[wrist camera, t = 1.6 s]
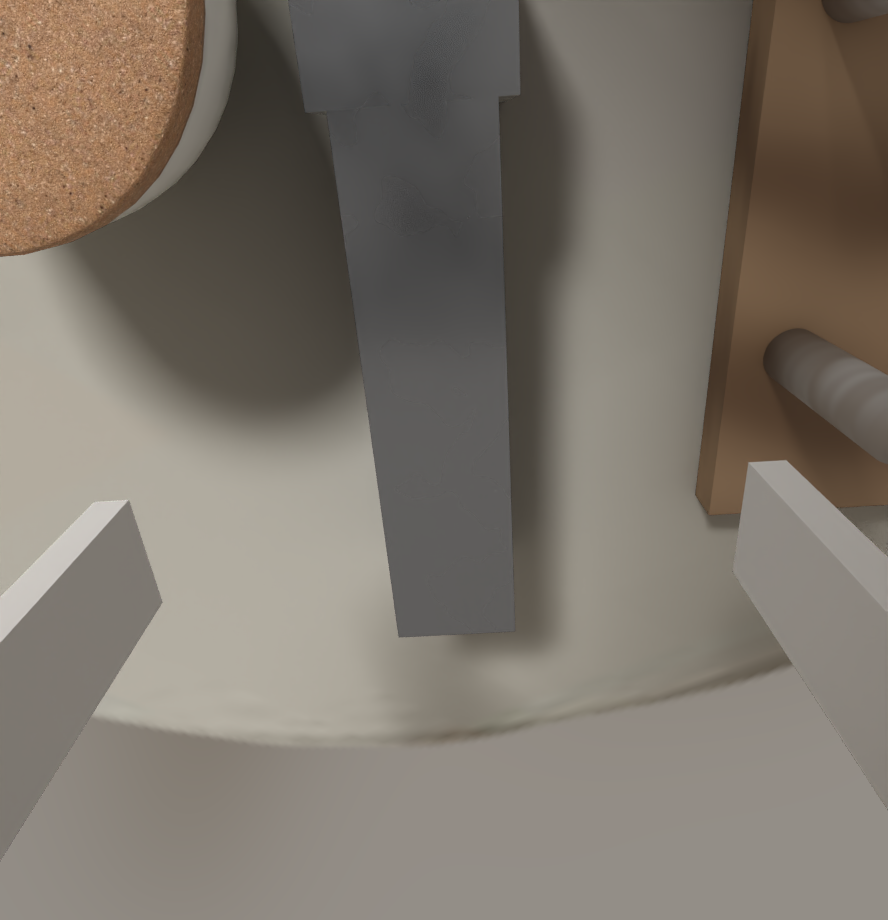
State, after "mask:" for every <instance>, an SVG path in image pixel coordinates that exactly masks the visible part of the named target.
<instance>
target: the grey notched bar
mask: <svg viewBox="0 0 888 920" xmlns="http://www.w3.org/2000/svg"><path fill="white" fill-rule="evenodd" d="M288 3H289V10H290V16H291V23H292V30H293V36H294V43H295V50H296V56H297V63H298V69H299V76H300V83H301V89H302V96H303V103H304V109H305V113H313V114H323V115H327V120H328V127H329V134H330V141H331V149H332V156H333V163H334V170H335V178H336V185H337V192H338V200H339V207H340V214H341V221H342V229H343V236H344V243H345V250H346V258H347V265H348V272H349V280H350V287H351V294H352V301H353V309H354V316H355V323H356V330H357V338H358V345H359V352H360V359H361V367H362V374H363V381H364V389H365V396H366V403H367V410H368V418H369V425H370V432H371V439H372V447H373V454H374V461H375V469H376V476H377V483H378V490H379V498H380V505H381V512H382V519H383V527H384V534H385V541H386V548H387V556H388V563H389V570H390V578H391V585H392V592H393V599H394V607H395V614H396V621H397V628H398V636H399V637H417V636H436V635H455V634H475V633H494V632H514V631H515V607H514V575H513V543H512V511H511V479H510V446H509V414H508V382H507V350H506V318H505V285H504V253H503V221H502V189H501V157H500V125H499V102H505V101H507V100H510V99H512V98H514V97H516V96H518V95H520V43H519V0H288Z"/></svg>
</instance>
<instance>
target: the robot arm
mask: <svg viewBox="0 0 888 920" xmlns="http://www.w3.org/2000/svg"><path fill="white" fill-rule="evenodd" d="M732 572H733V573H734V575H735V576H736V578H737V580H738V581H739V583H740V584H741V586H742V587H743V589H744V590H745V592H746V593H747V595H748V596H749V598H750V599H751V601H752V603H753V604H754V606H755V607H756V609H757V610H758V612H759V613H760V615H761V616H762V618H763V619H764V621H765V622H766V624H767V626H768V627H769V629H770V630H771V632H772V633H773V635H774V636H775V638H776V639H777V641H778V642H779V644H780V645H781V647H782V649H783V650H784V652H785V653H786V655H787V656H788V658H789V659H790V661H791V662H792V664H793V665H794V667H795V669H796V670H797V672H798V673H799V675H800V676H801V678H802V679H803V681H804V682H805V684H806V685H807V687H808V688H809V690H810V691H811V693H812V695H813V696H814V698H815V699H816V701H817V702H818V704H819V705H820V707H821V708H822V710H823V711H824V713H825V715H826V716H827V718H828V719H829V721H830V722H831V724H832V725H833V727H834V728H835V730H836V731H837V733H838V734H839V736H840V737H841V739H842V741H843V742H844V744H845V745H846V747H847V748H848V750H849V751H850V753H851V754H852V756H853V757H854V759H855V761H856V762H857V764H858V765H859V767H860V768H861V770H862V771H863V773H864V774H865V776H866V777H867V779H868V780H869V782H870V784H871V785H872V787H873V788H874V790H875V791H876V793H877V794H878V796H879V797H880V799H881V800H882V802H883V803H884V805H885V807H886V808H887V810H888V557H887V556H886V555H885V554H884V553H883V552H882V551H881V550H880V549H879V548H878V547H877V546H876V545H875V544H874V543H873V542H871V541H870V540H869V539H868V538H867V537H866V536H865V535H864V534H863V533H862V532H861V531H860V530H859V529H858V528H857V527H856V526H855V525H854V524H853V523H852V522H851V521H849V520H848V519H847V518H846V517H845V516H844V515H843V514H842V513H841V512H840V511H839V510H838V509H837V508H836V507H835V506H834V505H833V504H832V503H831V502H830V501H829V500H827V499H826V498H825V497H824V496H823V495H822V494H821V493H820V492H819V491H818V490H817V489H816V488H815V487H814V486H813V485H812V484H811V483H810V482H809V481H808V480H807V479H805V478H804V477H803V476H802V475H801V474H800V473H799V472H798V471H797V470H796V469H795V468H794V467H793V466H792V465H791V464H790V463H789V462H788V461H787V460H780V461H763V462H748V469H747V476H746V483H745V489H744V496H743V503H742V510H741V517H740V524H739V530H738V537H737V544H736V551H735V558H734V564H733V571H732ZM161 604H162V599H161V596H160V593H159V590H158V587H157V584H156V581H155V578H154V575H153V572H152V569H151V566H150V563H149V560H148V557H147V554H146V550H145V547H144V544H143V541H142V538H141V535H140V532H139V529H138V526H137V523H136V520H135V517H134V514H133V511H132V508H131V505H130V502H129V500H118V501H102V502H94V503H93V504H92V505H91V506H90V507H89V508H88V509H87V510H86V511H85V512H84V513H83V514H82V515H81V516H80V517H79V518H78V519H77V520H76V521H75V522H74V523H73V524H72V525H71V526H70V527H69V528H68V529H67V530H66V531H65V532H64V533H63V534H62V535H61V536H60V537H59V538H58V539H57V540H56V541H55V542H54V543H53V544H52V545H51V546H50V547H49V548H48V549H47V550H46V551H45V552H44V553H43V554H42V555H41V556H40V557H39V558H38V559H37V560H36V561H35V562H34V563H33V564H32V565H31V566H30V567H29V568H28V569H27V570H26V571H25V572H24V573H23V574H22V575H21V576H20V577H19V578H18V579H17V580H16V581H15V582H14V583H13V584H12V585H11V586H10V587H9V589H8V590H7V591H6V592H5V593H4V594H3V595H2V596H1V597H0V861H1V859H2V858H3V856H4V854H5V853H6V851H7V850H8V848H9V846H10V845H11V843H12V842H13V840H14V839H15V837H16V835H17V834H18V832H19V831H20V829H21V827H22V826H23V824H24V822H25V821H26V819H27V818H28V816H29V814H30V813H31V811H32V810H33V808H34V807H35V805H36V803H37V802H38V800H39V798H40V797H41V795H42V794H43V792H44V791H45V789H46V787H47V786H48V784H49V782H50V781H51V779H52V778H53V776H54V775H55V773H56V771H57V770H58V768H59V766H60V765H61V764H62V762H63V760H64V759H65V757H66V756H67V754H68V752H69V751H70V749H71V748H72V746H73V744H74V743H75V741H76V740H77V738H78V736H79V735H80V733H81V732H82V730H83V728H84V727H85V725H86V724H87V722H88V720H89V719H90V717H91V716H92V714H93V712H94V711H95V709H96V708H97V706H98V704H99V703H100V701H101V700H102V698H103V696H104V695H105V693H106V692H107V690H108V689H109V687H110V685H111V684H112V682H113V681H114V679H115V677H116V676H117V674H118V673H119V671H120V669H121V668H122V666H123V665H124V663H125V661H126V660H127V658H128V657H129V655H130V653H131V652H132V650H133V649H134V647H135V645H136V644H137V642H138V641H139V639H140V637H141V636H142V634H143V633H144V631H145V629H146V628H147V626H148V625H149V623H150V621H151V620H152V618H153V617H154V615H155V614H156V612H157V610H158V609H159V607H160V606H161Z"/></svg>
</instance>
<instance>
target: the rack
mask: <svg viewBox="0 0 888 920" xmlns="http://www.w3.org/2000/svg"><path fill="white" fill-rule="evenodd" d="M780 460H787V461H788V462H789V463H790V464H791V465H792V466H793V467H794V468H795V469H796V470H797V471H798V472H799V473H800V474H801V475H802V476H803V477H804V478H805V479H807V480H808V481H809V482H810V483H811V484H812V485H813V486H814V487H815V488H816V489H817V490H818V491H819V492H820V493H821V494H822V495H823V496H824V497H825V498H826V499H827V500H829V501H830V502H831V503H832V504H833V505H834V506H835V507H836V508H841V507H859V506H876V505H888V0H753V7H752V16H751V24H750V33H749V41H748V50H747V58H746V67H745V75H744V84H743V92H742V101H741V110H740V118H739V127H738V135H737V144H736V152H735V161H734V169H733V178H732V186H731V195H730V203H729V212H728V220H727V229H726V238H725V246H724V255H723V263H722V272H721V280H720V289H719V297H718V306H717V314H716V323H715V331H714V340H713V348H712V357H711V366H710V374H709V383H708V391H707V400H706V408H705V417H704V425H703V434H702V442H701V451H700V459H699V468H698V476H697V485H696V494H695V495H696V496H697V498H698V499H699V501H700V502H701V504H702V505H703V507H704V508H705V510H706V511H707V513H708V514H709V515H720V514H738V513H741V510H742V503H743V496H744V489H745V483H746V476H747V469H748V462H763V461H780Z"/></svg>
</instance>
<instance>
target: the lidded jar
mask: <svg viewBox="0 0 888 920" xmlns="http://www.w3.org/2000/svg"><path fill="white" fill-rule="evenodd" d="M237 40H238V25H237V7H236V0H0V257H2V256H14V255H25V254H29V253H32V252H36V251H40V250H44V249H47V248H51V247H55V246H59V245H62V244H66V243H69V242H72V241H75V240H77V239H79V238H81V237H83V236H85V235H87V234H89V233H91V232H93V231H95V230H97V229H99V228H101V227H103V226H105V225H107V224H109V223H112V222H114V221H116V220H119V219H121V218H123V217H125V216H127V215H129V214H131V213H133V212H135V211H137V210H139V209H141V208H143V207H144V206H146V205H147V204H149V203H150V202H151V201H153V200H154V199H156V198H157V197H158V196H160V195H161V194H162V193H164V192H165V191H166V190H168V189H169V188H170V187H171V186H173V185H174V184H175V183H177V182H178V180H179V179H180V178H181V177H182V176H183V175H184V174H185V173H186V172H187V171H188V169H189V168H190V167H191V166H192V165H193V164H194V163H195V162H196V160H197V159H198V158H199V156H200V155H201V153H202V152H203V150H204V148H205V147H206V145H207V144H208V142H209V140H210V139H211V137H212V135H213V134H214V132H215V131H216V129H217V126H218V124H219V122H220V119H221V117H222V114H223V112H224V109H225V107H226V104H227V102H228V98H229V94H230V89H231V85H232V81H233V76H234V72H235V65H236V53H237Z"/></svg>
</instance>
